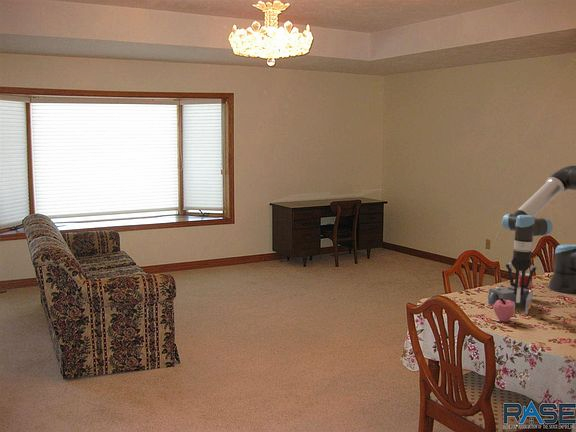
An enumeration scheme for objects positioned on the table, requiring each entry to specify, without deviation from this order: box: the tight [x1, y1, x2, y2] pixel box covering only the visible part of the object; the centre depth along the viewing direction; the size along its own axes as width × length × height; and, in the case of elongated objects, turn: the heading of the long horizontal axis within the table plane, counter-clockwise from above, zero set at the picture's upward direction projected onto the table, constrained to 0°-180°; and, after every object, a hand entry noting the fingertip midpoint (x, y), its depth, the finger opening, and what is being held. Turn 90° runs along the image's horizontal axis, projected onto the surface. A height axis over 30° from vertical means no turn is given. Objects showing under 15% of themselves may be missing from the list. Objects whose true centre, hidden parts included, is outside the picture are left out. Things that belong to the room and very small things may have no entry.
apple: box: [492, 298, 516, 323], centre depth 261 cm, size 10×9×10 cm
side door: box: [524, 289, 534, 315], centre depth 277 cm, size 16×2×7 cm, turn 153°
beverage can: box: [518, 272, 533, 290], centre depth 296 cm, size 6×6×12 cm
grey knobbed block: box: [487, 285, 529, 308], centre depth 285 cm, size 18×9×8 cm, turn 113°
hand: (518, 301), depth 276 cm, fingers closed
